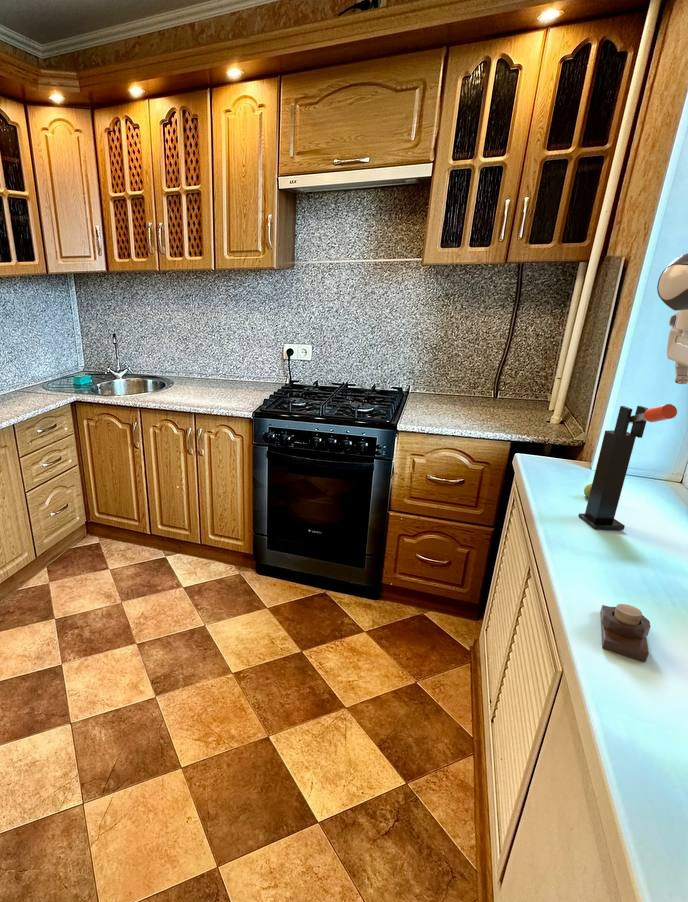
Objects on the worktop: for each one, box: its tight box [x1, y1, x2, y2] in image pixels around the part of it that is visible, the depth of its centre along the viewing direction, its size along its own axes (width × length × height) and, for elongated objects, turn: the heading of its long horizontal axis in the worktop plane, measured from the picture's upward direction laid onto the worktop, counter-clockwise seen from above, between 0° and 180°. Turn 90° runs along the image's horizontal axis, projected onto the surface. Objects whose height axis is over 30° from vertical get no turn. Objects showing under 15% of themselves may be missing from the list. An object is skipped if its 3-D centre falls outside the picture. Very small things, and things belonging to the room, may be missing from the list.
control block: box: [599, 604, 651, 663], centre depth 94 cm, size 12×6×4 cm, turn 146°
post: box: [578, 405, 649, 531], centre depth 129 cm, size 7×7×31 cm
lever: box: [629, 403, 678, 425], centre depth 119 cm, size 12×3×3 cm, turn 176°
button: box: [614, 603, 643, 625], centre depth 93 cm, size 4×4×2 cm
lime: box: [583, 483, 592, 499], centre depth 147 cm, size 4×5×5 cm
